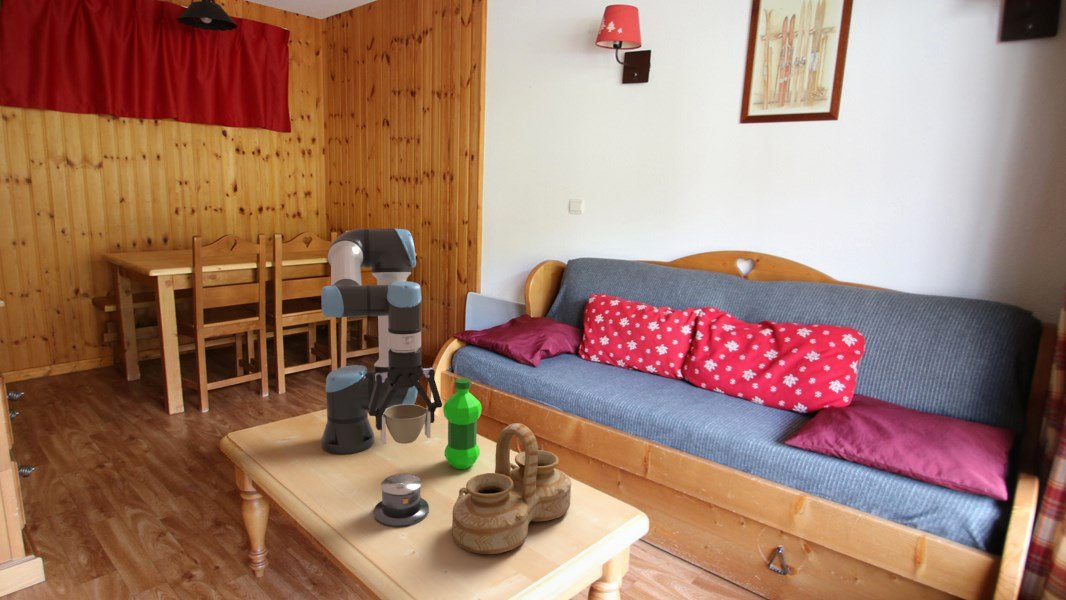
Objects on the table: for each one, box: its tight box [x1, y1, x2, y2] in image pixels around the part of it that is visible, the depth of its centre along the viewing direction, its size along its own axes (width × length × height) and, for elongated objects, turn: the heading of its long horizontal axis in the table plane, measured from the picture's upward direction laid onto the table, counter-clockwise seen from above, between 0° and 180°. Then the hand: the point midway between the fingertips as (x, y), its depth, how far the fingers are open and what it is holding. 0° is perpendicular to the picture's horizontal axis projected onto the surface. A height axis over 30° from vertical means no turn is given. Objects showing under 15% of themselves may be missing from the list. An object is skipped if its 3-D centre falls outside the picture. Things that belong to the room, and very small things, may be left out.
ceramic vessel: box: [451, 422, 572, 555], centre depth 144 cm, size 34×18×25 cm, turn 143°
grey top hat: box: [373, 473, 430, 528], centre depth 148 cm, size 13×13×8 cm
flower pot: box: [383, 404, 427, 445], centre depth 146 cm, size 10×10×7 cm
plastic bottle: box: [442, 377, 482, 470], centre depth 171 cm, size 10×10×25 cm
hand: (405, 438), depth 147 cm, fingers closed on flower pot, 10 cm apart
